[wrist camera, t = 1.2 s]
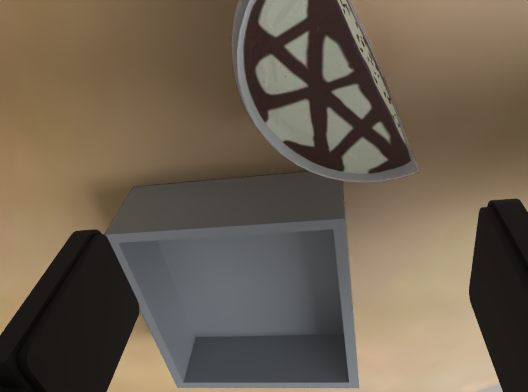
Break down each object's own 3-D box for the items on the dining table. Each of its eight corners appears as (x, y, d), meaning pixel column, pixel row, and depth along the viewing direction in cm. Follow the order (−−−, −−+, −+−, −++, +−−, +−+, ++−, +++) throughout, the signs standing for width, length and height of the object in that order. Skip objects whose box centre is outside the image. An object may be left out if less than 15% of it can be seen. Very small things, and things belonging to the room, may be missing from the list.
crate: (341, 168, 32) (345, 218, 28) (354, 330, 43) (359, 388, 38) (133, 186, 35) (103, 234, 31) (192, 334, 46) (177, 387, 41)
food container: (213, -31, 26) (163, 9, 18) (307, -95, 23) (299, -84, 15) (311, 136, 31) (307, 225, 23) (394, 97, 29) (422, 180, 21)
